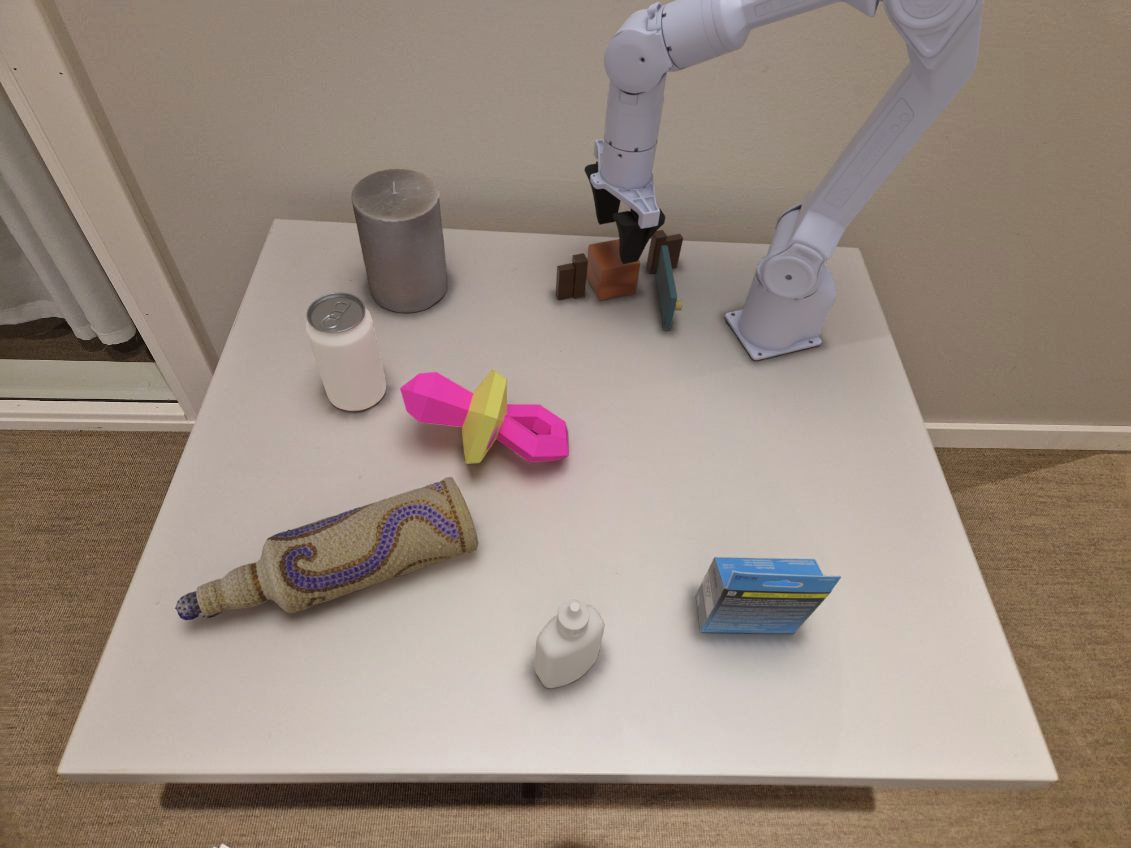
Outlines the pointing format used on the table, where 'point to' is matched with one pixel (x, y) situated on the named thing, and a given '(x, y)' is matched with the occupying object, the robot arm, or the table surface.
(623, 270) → the block
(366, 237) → the pillar candle
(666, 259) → the gate door
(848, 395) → the table surface
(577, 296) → the gate
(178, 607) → the decorative bottle
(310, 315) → the can
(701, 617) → the label tape box
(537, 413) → the toy
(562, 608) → the eye dropper bottle
